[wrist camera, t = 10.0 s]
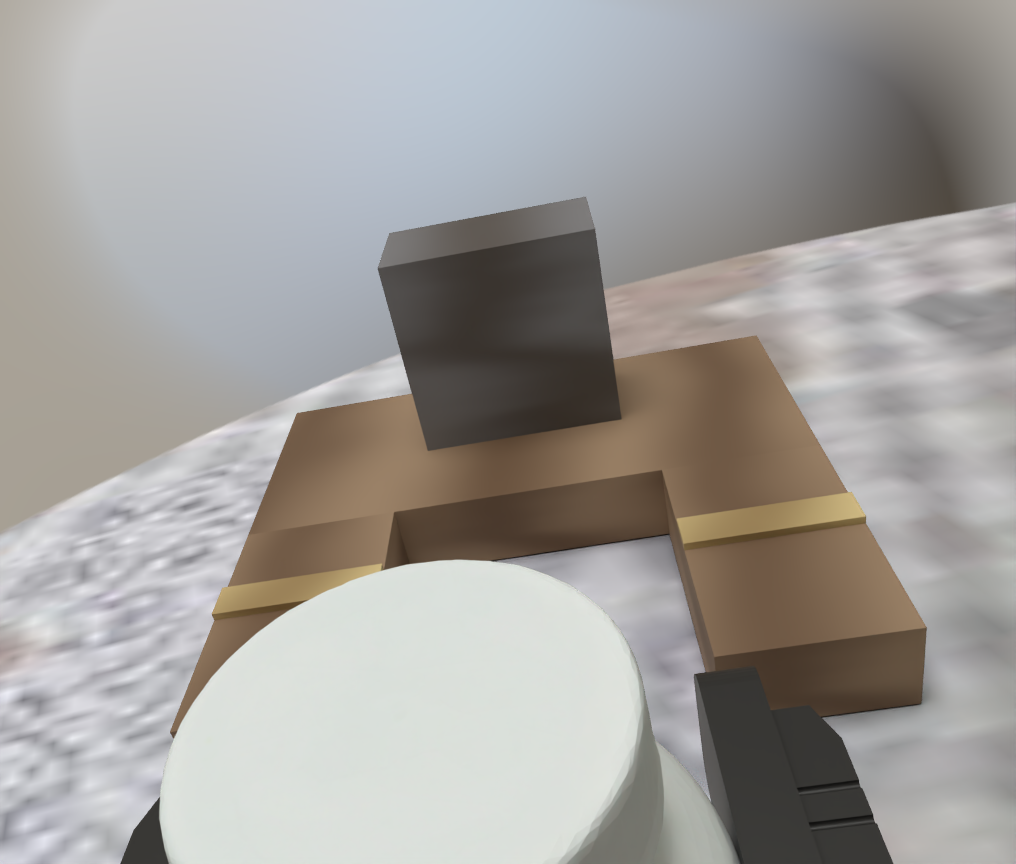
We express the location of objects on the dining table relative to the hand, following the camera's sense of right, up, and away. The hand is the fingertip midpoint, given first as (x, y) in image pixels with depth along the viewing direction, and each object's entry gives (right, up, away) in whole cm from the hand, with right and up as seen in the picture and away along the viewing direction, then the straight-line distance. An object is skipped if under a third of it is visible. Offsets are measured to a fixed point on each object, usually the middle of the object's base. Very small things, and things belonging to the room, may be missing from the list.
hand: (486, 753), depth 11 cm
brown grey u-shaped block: (+1, +1, +15) cm, 15 cm away
